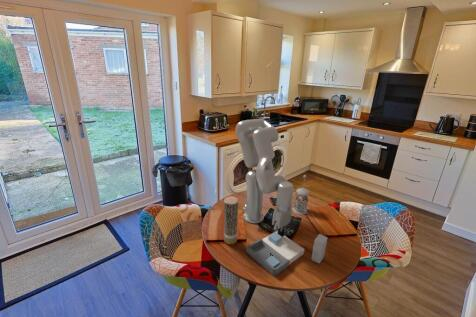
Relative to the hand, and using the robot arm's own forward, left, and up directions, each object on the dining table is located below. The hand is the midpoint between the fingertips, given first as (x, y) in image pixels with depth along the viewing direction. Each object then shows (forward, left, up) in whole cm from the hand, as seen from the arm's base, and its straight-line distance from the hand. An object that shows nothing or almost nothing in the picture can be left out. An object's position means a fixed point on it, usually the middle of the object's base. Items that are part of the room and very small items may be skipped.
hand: (280, 235), depth 128 cm
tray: (+4, -14, -4) cm, 16 cm away
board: (+4, -3, -4) cm, 7 cm away
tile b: (0, -4, -1) cm, 4 cm away
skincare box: (+19, +6, -4) cm, 21 cm away
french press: (-13, +33, -4) cm, 35 cm away
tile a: (+9, -16, -1) cm, 18 cm away
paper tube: (-17, -20, -4) cm, 27 cm away
